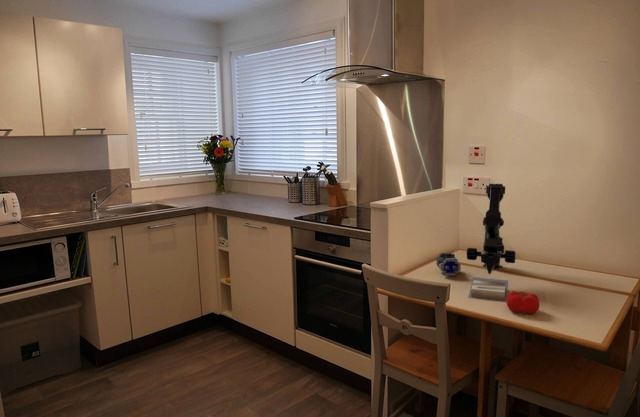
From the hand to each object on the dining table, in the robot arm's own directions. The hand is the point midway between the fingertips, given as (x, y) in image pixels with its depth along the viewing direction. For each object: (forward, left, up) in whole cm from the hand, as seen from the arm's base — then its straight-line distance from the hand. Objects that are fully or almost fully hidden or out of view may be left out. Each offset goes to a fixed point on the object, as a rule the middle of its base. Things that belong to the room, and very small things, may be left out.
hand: (489, 273), depth 188 cm
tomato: (+9, +21, -7) cm, 24 cm away
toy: (-4, -25, -7) cm, 26 cm away
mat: (-1, -1, -7) cm, 7 cm away
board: (-1, -1, -5) cm, 5 cm away
